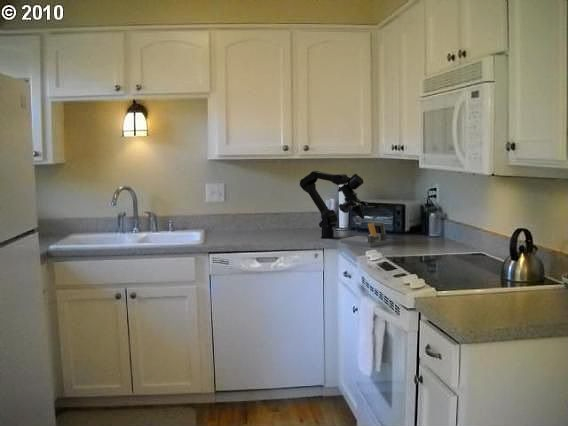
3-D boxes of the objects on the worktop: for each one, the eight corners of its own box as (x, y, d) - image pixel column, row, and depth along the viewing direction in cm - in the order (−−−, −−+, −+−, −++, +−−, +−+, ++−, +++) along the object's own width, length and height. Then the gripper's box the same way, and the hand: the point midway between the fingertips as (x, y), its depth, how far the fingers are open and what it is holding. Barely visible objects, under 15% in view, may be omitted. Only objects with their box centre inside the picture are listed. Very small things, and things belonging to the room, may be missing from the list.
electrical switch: (385, 237, 319) (385, 221, 317) (382, 239, 315) (381, 223, 313) (370, 236, 324) (370, 220, 322) (366, 238, 320) (366, 222, 318)
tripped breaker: (371, 240, 295) (366, 224, 296) (375, 239, 298) (371, 223, 299) (374, 239, 294) (369, 223, 295) (378, 239, 296) (374, 222, 297)
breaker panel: (340, 242, 303) (340, 232, 302) (357, 239, 313) (357, 229, 313) (370, 247, 289) (370, 236, 288) (387, 243, 299) (387, 233, 299)
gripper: (346, 202, 318) (359, 226, 313) (330, 201, 302) (343, 226, 297) (361, 191, 313) (374, 215, 308) (346, 190, 297) (360, 215, 292)
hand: (363, 218), depth 301 cm, fingers closed
